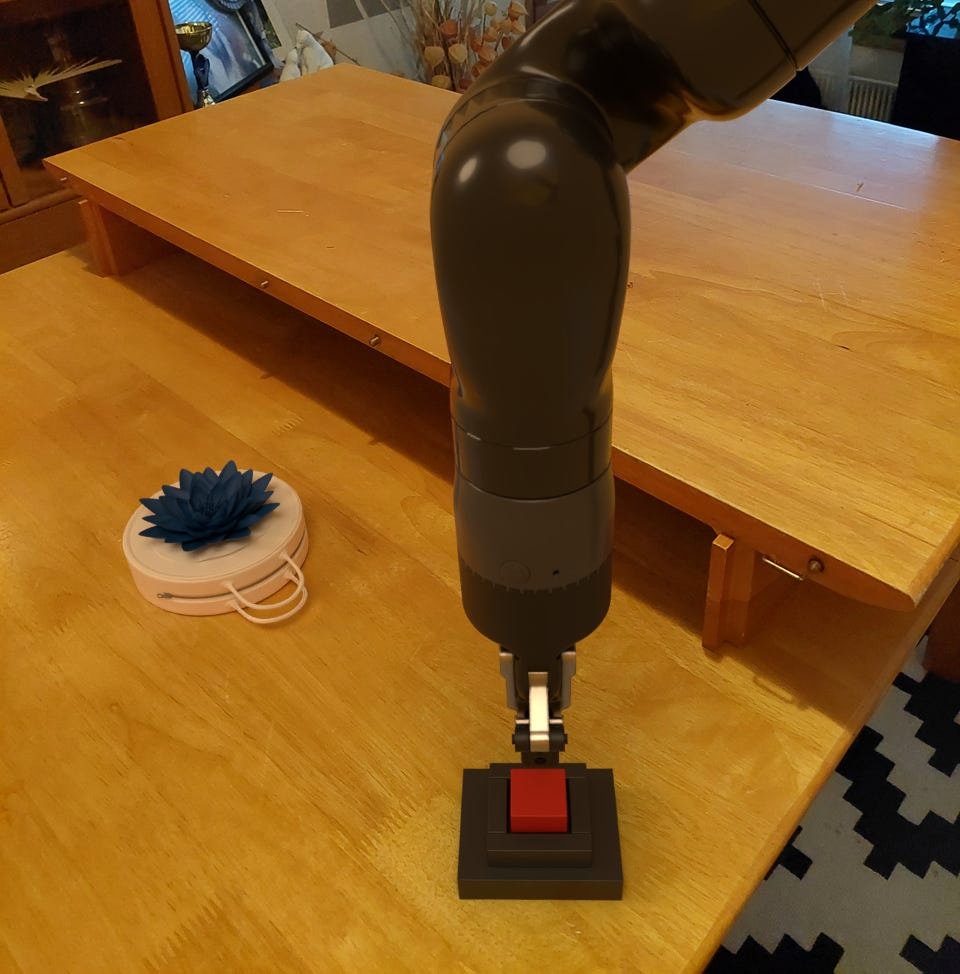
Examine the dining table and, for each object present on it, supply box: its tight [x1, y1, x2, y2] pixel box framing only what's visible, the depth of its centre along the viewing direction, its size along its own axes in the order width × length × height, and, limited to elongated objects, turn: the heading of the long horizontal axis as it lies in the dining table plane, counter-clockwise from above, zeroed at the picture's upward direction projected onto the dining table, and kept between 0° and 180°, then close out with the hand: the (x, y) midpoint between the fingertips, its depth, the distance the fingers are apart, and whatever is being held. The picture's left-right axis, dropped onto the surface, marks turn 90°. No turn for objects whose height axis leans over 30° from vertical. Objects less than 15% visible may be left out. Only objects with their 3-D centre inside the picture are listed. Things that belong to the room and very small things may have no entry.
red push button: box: [456, 762, 625, 901], centre depth 59 cm, size 10×8×4 cm
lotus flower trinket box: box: [121, 459, 310, 625], centre depth 81 cm, size 7×16×20 cm
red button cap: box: [511, 769, 567, 832], centre depth 57 cm, size 3×3×2 cm
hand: (540, 755), depth 55 cm, fingers closed
